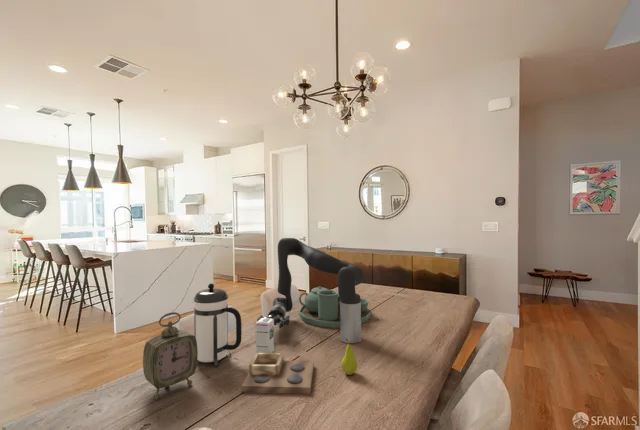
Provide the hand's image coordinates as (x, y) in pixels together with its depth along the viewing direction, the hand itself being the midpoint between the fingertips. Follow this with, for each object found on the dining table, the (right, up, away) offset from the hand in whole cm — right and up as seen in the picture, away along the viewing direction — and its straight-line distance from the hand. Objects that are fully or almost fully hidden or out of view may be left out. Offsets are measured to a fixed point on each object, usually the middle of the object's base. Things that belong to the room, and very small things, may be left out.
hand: (270, 326), depth 139 cm
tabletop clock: (-28, -9, -35) cm, 45 cm away
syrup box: (0, -8, -11) cm, 14 cm away
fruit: (+32, -8, -26) cm, 42 cm away
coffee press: (-20, -8, -14) cm, 26 cm away
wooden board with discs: (+8, -8, -29) cm, 31 cm away
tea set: (+30, -8, +40) cm, 50 cm away
